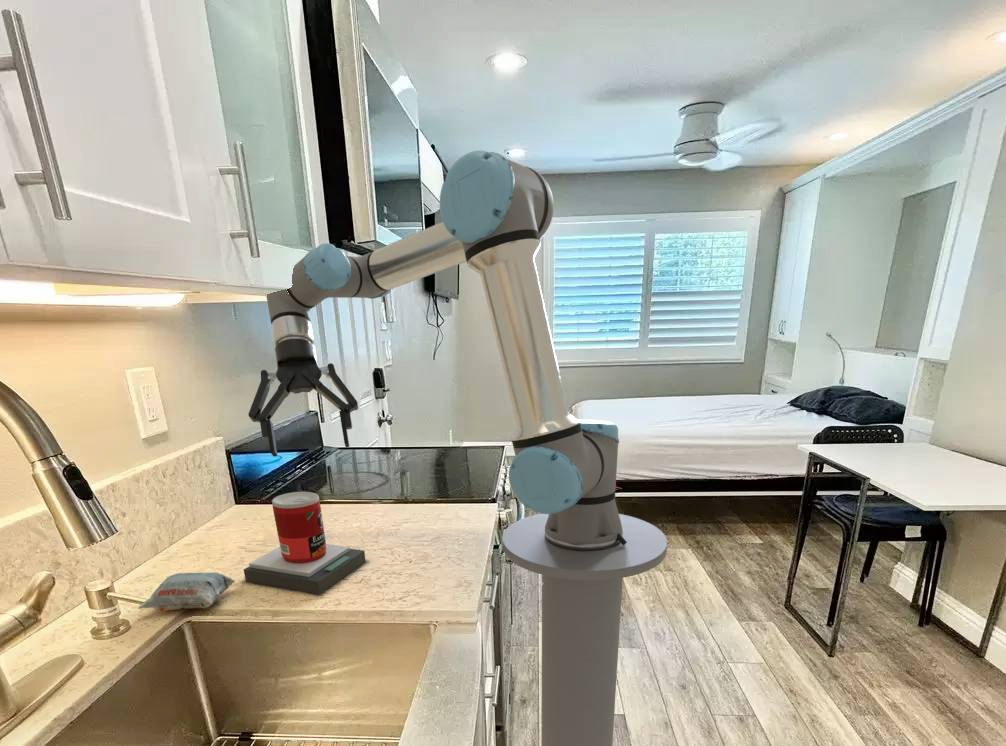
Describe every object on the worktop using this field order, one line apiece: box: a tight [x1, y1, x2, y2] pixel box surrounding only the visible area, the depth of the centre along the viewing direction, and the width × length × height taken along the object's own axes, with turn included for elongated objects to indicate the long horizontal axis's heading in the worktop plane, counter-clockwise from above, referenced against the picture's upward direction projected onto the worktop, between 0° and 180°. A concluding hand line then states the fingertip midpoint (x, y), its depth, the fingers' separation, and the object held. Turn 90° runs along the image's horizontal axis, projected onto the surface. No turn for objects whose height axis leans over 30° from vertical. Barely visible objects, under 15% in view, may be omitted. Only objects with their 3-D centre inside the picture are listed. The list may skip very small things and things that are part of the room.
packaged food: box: [137, 571, 235, 611], centre depth 93 cm, size 9×12×5 cm
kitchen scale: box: [243, 543, 367, 595], centre depth 104 cm, size 16×14×3 cm
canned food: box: [271, 491, 327, 563], centre depth 102 cm, size 8×8×11 cm
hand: (311, 449), depth 109 cm, fingers open, 13 cm apart
